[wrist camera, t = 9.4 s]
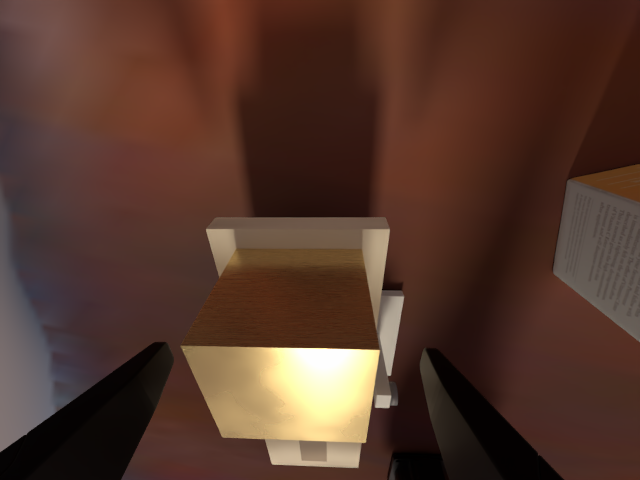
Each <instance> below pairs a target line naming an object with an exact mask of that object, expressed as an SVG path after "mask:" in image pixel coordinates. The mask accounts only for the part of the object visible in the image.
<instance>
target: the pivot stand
mask: <svg viewBox="0 0 640 480" xmlns="http://www.w3.org/2000/svg"><path fill="white" fill-rule="evenodd" d="M403 300H404V295H403V292H402V291H393V290H382V292H381V300H380V307H379V315H378V322H377V330H376V331H377V337H378V342H379V348H380V353H379V359H378V366H377V372H376V379H375V385H374V392H373V395H374V402H375V408H389V406H390V405H395V406H397V405H398V392H397V386H396V383H395V382H389V381H388V376H391V371H392V365H393V359H394V353H395V347H396V341H397V335H398V329H399V323H400V318H401V312H402V306H403Z"/></svg>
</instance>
